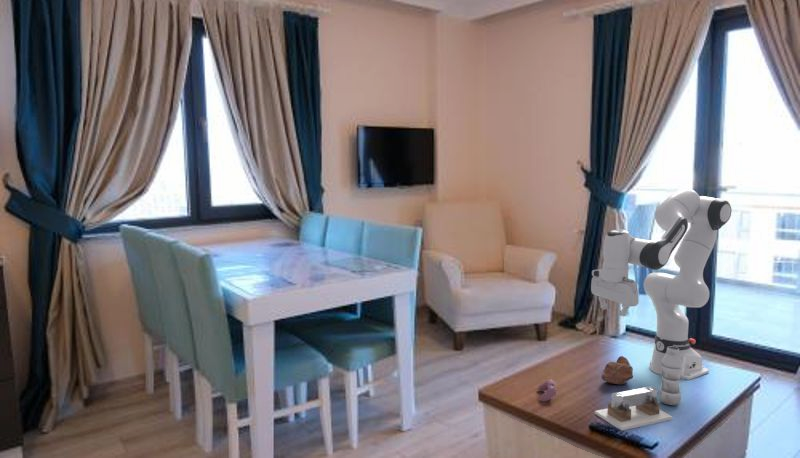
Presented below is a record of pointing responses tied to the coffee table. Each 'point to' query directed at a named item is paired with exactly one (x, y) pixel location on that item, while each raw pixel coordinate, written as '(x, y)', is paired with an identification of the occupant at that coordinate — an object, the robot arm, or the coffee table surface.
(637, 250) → the robot arm
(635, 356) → the coffee table surface
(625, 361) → the stone
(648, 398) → the grey long cylinder
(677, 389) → the plastic bottle
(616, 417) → the spanner rack
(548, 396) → the video game controller
